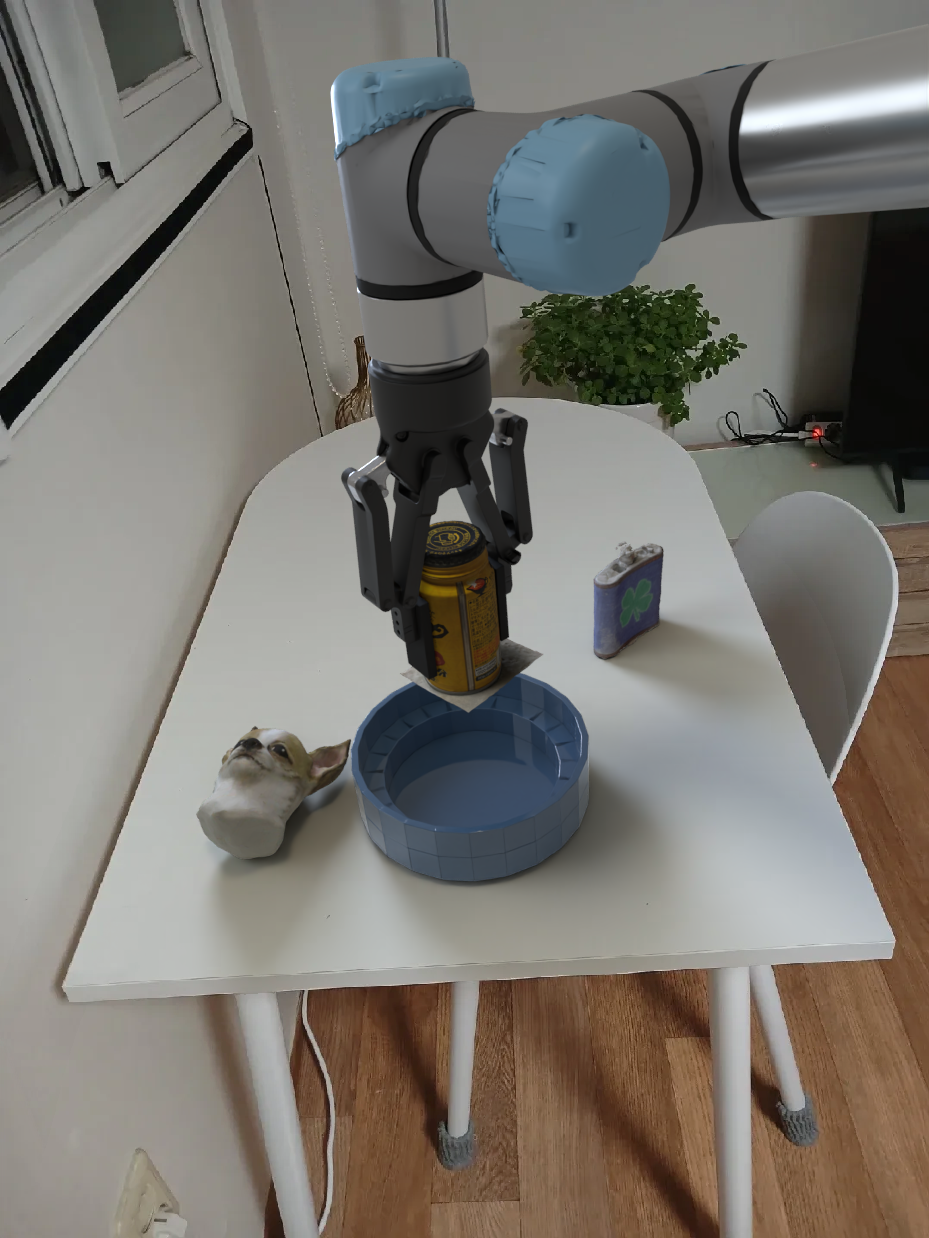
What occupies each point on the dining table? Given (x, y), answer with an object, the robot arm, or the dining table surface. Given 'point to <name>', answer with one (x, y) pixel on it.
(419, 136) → the robot arm
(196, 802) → the dining table surface
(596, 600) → the flask
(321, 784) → the ceramic sculpture
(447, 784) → the basin
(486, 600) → the condiment
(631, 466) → the dining table surface
